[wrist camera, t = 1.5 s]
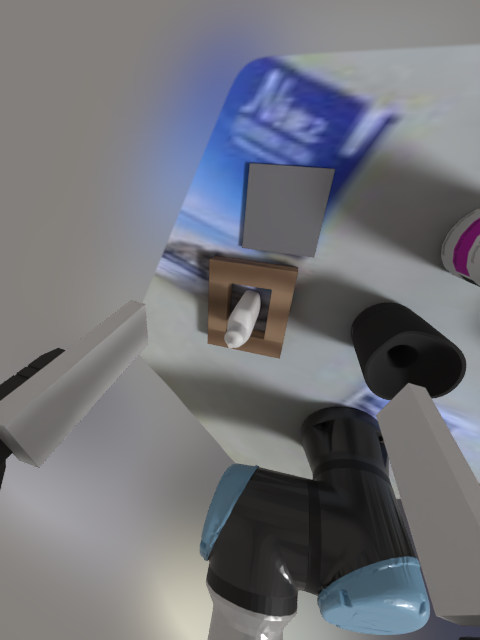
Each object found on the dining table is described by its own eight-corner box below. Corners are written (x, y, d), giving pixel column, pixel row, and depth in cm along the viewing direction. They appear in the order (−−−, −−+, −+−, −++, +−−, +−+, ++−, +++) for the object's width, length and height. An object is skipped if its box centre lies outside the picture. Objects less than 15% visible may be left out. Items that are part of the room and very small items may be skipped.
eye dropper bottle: (271, 303, 35) (260, 343, 25) (249, 325, 38) (230, 370, 28) (251, 284, 35) (230, 318, 24) (229, 308, 37) (202, 347, 27)
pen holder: (376, 287, 31) (406, 319, 22) (437, 318, 31) (491, 362, 22) (334, 337, 36) (346, 380, 27) (387, 364, 35) (416, 416, 27)
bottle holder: (280, 350, 39) (279, 358, 37) (212, 336, 41) (207, 343, 39) (297, 267, 32) (297, 271, 30) (215, 255, 34) (209, 259, 32)
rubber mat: (313, 256, 31) (314, 257, 30) (243, 247, 32) (242, 247, 32) (334, 169, 26) (335, 169, 26) (250, 164, 28) (249, 163, 27)
